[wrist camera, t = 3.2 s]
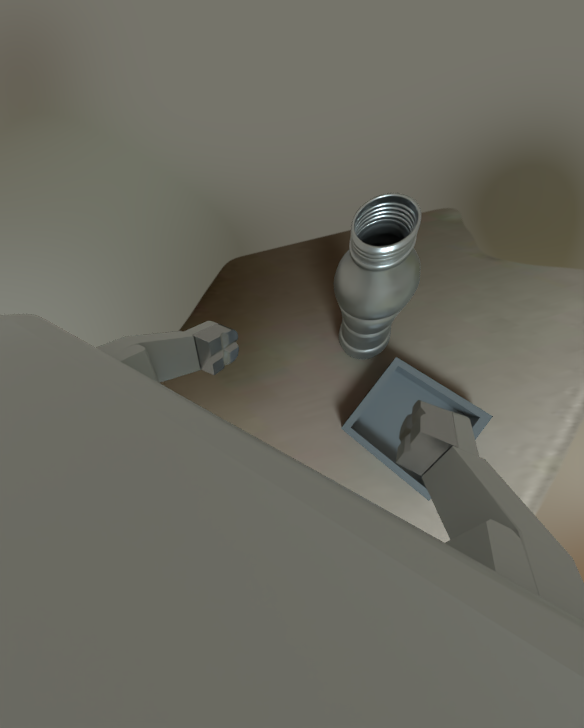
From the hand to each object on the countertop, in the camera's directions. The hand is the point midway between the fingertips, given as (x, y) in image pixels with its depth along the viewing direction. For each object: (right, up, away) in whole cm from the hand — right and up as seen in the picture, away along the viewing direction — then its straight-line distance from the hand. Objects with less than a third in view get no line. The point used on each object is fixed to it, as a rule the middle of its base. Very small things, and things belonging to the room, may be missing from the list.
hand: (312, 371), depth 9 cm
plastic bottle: (+9, +4, +21) cm, 24 cm away
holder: (+13, -7, +18) cm, 23 cm away
